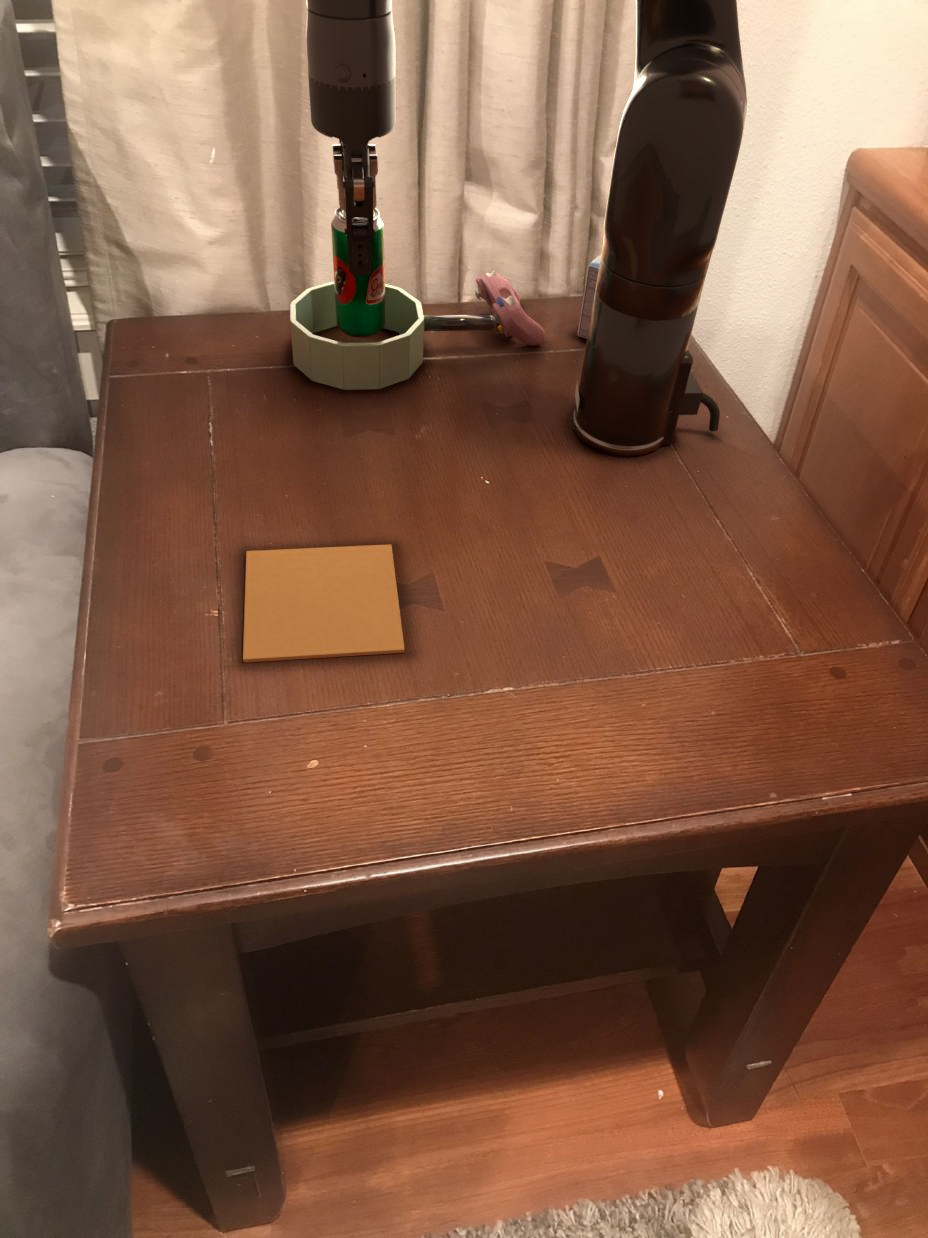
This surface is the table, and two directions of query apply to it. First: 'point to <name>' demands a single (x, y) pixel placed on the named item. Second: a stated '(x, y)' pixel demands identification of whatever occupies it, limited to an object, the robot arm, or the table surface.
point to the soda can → (358, 281)
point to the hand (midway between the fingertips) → (358, 258)
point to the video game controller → (508, 309)
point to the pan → (367, 360)
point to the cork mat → (321, 603)
